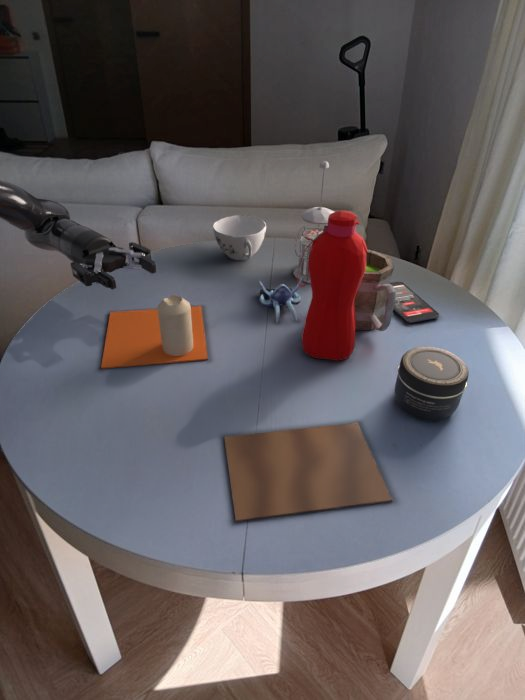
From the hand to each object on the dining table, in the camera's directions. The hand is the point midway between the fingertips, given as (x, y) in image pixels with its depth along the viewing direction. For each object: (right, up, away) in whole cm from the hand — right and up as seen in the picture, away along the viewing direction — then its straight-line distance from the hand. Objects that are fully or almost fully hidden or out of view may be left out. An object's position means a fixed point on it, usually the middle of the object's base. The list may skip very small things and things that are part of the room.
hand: (134, 276), depth 88 cm
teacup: (+18, +9, +31) cm, 37 cm away
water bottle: (+34, -13, +1) cm, 36 cm away
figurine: (+27, -5, +12) cm, 30 cm away
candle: (+8, -13, 0) cm, 15 cm away
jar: (+49, -22, -11) cm, 54 cm away
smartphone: (+53, -4, +14) cm, 55 cm away
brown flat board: (+28, -29, -22) cm, 46 cm away
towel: (+3, -11, +3) cm, 12 cm away
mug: (+43, -8, +8) cm, 44 cm away
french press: (+34, +4, +24) cm, 42 cm away
